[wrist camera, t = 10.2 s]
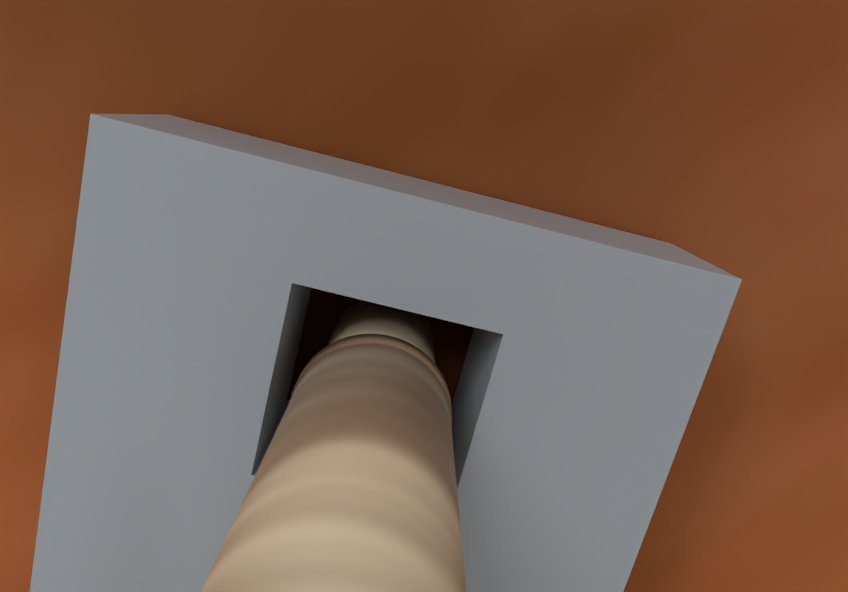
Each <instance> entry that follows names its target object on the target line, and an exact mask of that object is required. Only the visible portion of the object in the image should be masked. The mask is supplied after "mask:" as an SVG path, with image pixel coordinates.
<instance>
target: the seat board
mask: <svg viewBox="0 0 848 592" xmlns="http://www.w3.org/2000/svg"><path fill="white" fill-rule="evenodd" d="M741 281H742V279H740V278H738V277H736V276H734V275H732V274H730V273H728V272H726V271H724V270H722V269H720V268H718V267H716V266H714V265H713V264H711V263H709V262H707V261H705V260H703V259H701V258H699V257H697V256H695V255H693V254H691V253H689V252H687V251H685V250H683V249H681V248H679V247H677V246H675V245H673V244H671V243H668V242H664V241H660V240H656V239H652V238H648V237H644V236H641V235H637V234H633V233H629V232H625V231H621V230H617V229H613V228H609V227H605V226H602V225H598V224H594V223H590V222H586V221H582V220H578V219H574V218H570V217H566V216H562V215H559V214H555V213H551V212H547V211H543V210H539V209H535V208H531V207H527V206H523V205H520V204H516V203H512V202H508V201H504V200H500V199H496V198H492V197H488V196H484V195H481V194H477V193H473V192H469V191H465V190H461V189H457V188H453V187H449V186H445V185H442V184H438V183H434V182H430V181H426V180H422V179H418V178H414V177H410V176H406V175H403V174H399V173H395V172H391V171H387V170H383V169H379V168H375V167H371V166H367V165H364V164H360V163H356V162H352V161H348V160H344V159H340V158H336V157H332V156H328V155H325V154H321V153H317V152H313V151H309V150H305V149H301V148H297V147H293V146H289V145H286V144H282V143H278V142H274V141H270V140H266V139H262V138H258V137H254V136H250V135H247V134H243V133H239V132H235V131H231V130H227V129H223V128H219V127H215V126H211V125H208V124H204V123H200V122H196V121H192V120H188V119H184V118H180V117H176V116H172V115H169V114H90V122H89V129H88V137H87V145H86V153H85V161H84V169H83V177H82V184H81V192H80V200H79V208H78V216H77V224H76V232H75V239H74V247H73V255H72V263H71V271H70V279H69V287H68V294H67V302H66V310H65V318H64V326H63V334H62V342H61V349H60V357H59V365H58V373H57V381H56V389H55V397H54V404H53V412H52V420H51V428H50V436H49V444H48V452H47V459H46V467H45V475H44V483H43V491H42V499H41V507H40V514H39V522H38V530H37V538H36V546H35V554H34V562H33V570H32V577H31V585H30V592H201V590H202V588H203V586H204V583H205V581H206V579H207V577H208V575H209V573H210V571H211V568H212V566H213V564H214V562H215V560H216V558H217V556H218V554H219V551H220V549H221V547H222V545H223V543H224V541H225V539H226V537H227V534H228V532H229V530H230V528H231V526H232V524H233V522H234V519H235V517H236V515H237V513H238V511H239V509H240V507H241V505H242V502H243V500H244V498H245V496H246V494H247V492H248V490H249V487H250V485H251V483H252V481H253V479H254V477H255V475H256V473H257V470H258V468H259V466H260V464H261V462H262V460H263V458H264V455H265V453H266V451H267V449H268V447H269V445H270V443H271V441H272V438H273V436H274V434H275V432H276V430H277V428H278V426H279V423H280V421H281V419H282V417H283V415H284V413H285V411H286V409H287V406H288V404H289V402H290V400H287V399H288V394H289V389H290V385H291V380H292V376H293V371H294V367H295V362H296V357H297V353H298V348H299V344H300V339H301V335H302V330H303V326H304V321H305V316H306V312H307V307H308V303H309V298H310V294H311V289H312V288H315V289H319V290H323V291H327V292H331V293H335V294H339V295H343V296H347V297H352V298H356V299H360V300H364V301H368V302H372V303H376V304H380V305H384V306H389V307H393V308H397V309H401V310H405V311H409V312H413V313H417V314H421V315H426V316H430V317H434V318H438V319H442V320H446V321H450V322H454V323H458V324H463V325H467V326H471V327H474V329H473V333H472V336H471V340H470V343H469V347H468V350H467V354H466V357H465V361H464V364H463V368H462V371H461V375H460V378H459V382H458V385H457V389H456V392H455V396H454V399H453V403H452V439H453V450H454V461H455V473H456V484H457V495H458V506H459V517H460V528H461V539H462V550H463V561H464V572H465V583H466V592H623V591H624V589H625V586H626V583H627V581H628V578H629V575H630V573H631V570H632V568H633V565H634V562H635V560H636V557H637V554H638V552H639V549H640V547H641V544H642V541H643V539H644V536H645V533H646V531H647V528H648V526H649V523H650V520H651V518H652V515H653V512H654V510H655V507H656V504H657V502H658V499H659V497H660V494H661V491H662V489H663V486H664V483H665V481H666V478H667V476H668V473H669V470H670V468H671V465H672V462H673V460H674V457H675V455H676V452H677V449H678V447H679V444H680V441H681V439H682V436H683V434H684V431H685V428H686V426H687V423H688V420H689V418H690V415H691V413H692V410H693V407H694V405H695V402H696V399H697V397H698V394H699V392H700V389H701V386H702V384H703V381H704V378H705V376H706V373H707V370H708V368H709V365H710V363H711V360H712V357H713V355H714V352H715V349H716V347H717V344H718V342H719V339H720V336H721V334H722V331H723V328H724V326H725V323H726V321H727V318H728V315H729V313H730V310H731V307H732V305H733V302H734V300H735V297H736V294H737V292H738V289H739V286H740V284H741Z"/></svg>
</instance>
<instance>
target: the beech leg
mask: <svg viewBox="0 0 848 592" xmlns="http://www.w3.org/2000/svg"><path fill="white" fill-rule="evenodd" d="M201 592H466V583H465V572H464V561H463V550H462V539H461V528H460V517H459V506H458V495H457V484H456V473H455V461H454V450H453V439H452V406H451V397H450V393H449V389H448V386H447V383H446V380H445V378H444V377H443V375H442V373H441V371H440V370H439V368H438V367H437V366H436V360H435V342H434V336H433V332H432V329H431V327H430V325H429V323H428V321H427V320H426V318H425V317H424V316H423V315H421V314H417V313H413V312H409V311H405V310H401V309H397V308H393V307H389V306H384V305H380V304H376V303H372V302H368V301H364V300H362V301H360V302H358V303H356V304H354V305H353V306H351V307H350V308H349V309H348V310H347V311H345V312H344V314H343V315H342V316H341V317H340V319H339V320H338V322H337V324H336V326H335V328H334V330H333V333H332V335H331V338H330V340H329V342H328V345H327V346H326V347H325V348H323V349H322V350H320V351H319V352H318V353H317V354H316V355H315V356H313V357H312V359H311V360H310V361H309V362H308V363H307V364H306V366H305V368H304V369H303V371H302V372H301V374H300V376H299V378H298V380H297V382H296V385H295V387H294V389H293V391H292V395H291V398H290V402H289V404H288V406H287V409H286V411H285V413H284V415H283V417H282V419H281V421H280V423H279V426H278V428H277V430H276V432H275V434H274V436H273V438H272V441H271V443H270V445H269V447H268V449H267V451H266V453H265V455H264V458H263V460H262V462H261V464H260V466H259V468H258V470H257V473H256V475H255V477H254V479H253V481H252V483H251V485H250V487H249V490H248V492H247V494H246V496H245V498H244V500H243V502H242V505H241V507H240V509H239V511H238V513H237V515H236V517H235V519H234V522H233V524H232V526H231V528H230V530H229V532H228V534H227V537H226V539H225V541H224V543H223V545H222V547H221V549H220V551H219V554H218V556H217V558H216V560H215V562H214V564H213V566H212V568H211V571H210V573H209V575H208V577H207V579H206V581H205V583H204V586H203V588H202V590H201Z"/></svg>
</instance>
